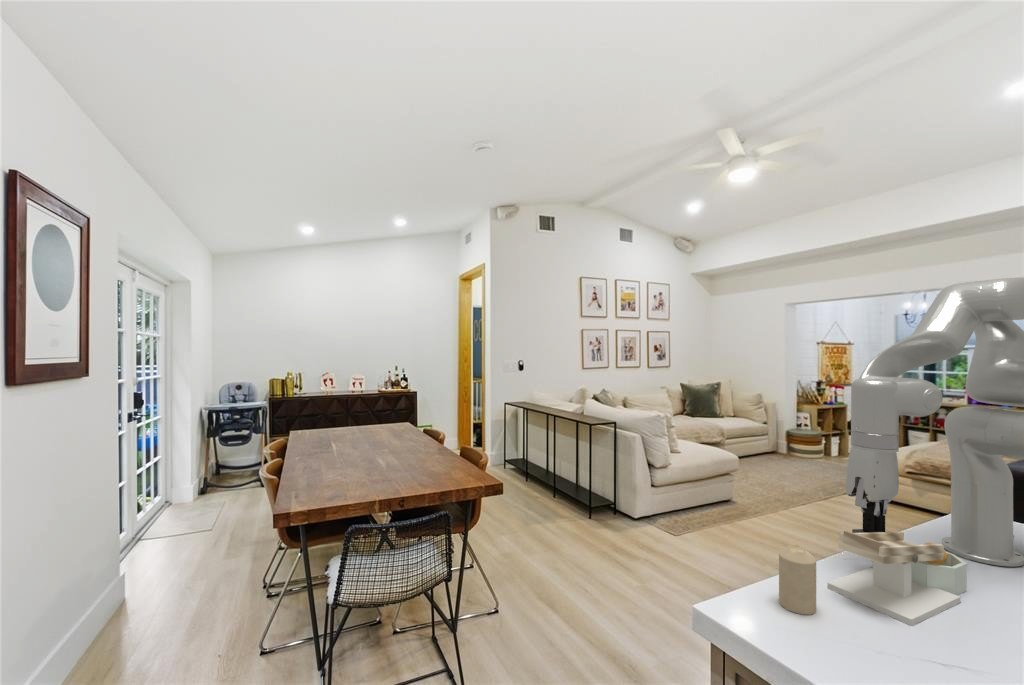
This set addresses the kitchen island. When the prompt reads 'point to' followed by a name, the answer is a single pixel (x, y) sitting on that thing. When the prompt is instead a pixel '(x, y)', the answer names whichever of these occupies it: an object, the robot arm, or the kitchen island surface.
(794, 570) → the candle
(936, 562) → the ball
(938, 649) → the kitchen island surface
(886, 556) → the lever
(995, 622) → the kitchen island surface
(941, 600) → the lever stand
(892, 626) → the kitchen island surface
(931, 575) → the pale green bowl
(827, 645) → the kitchen island surface
